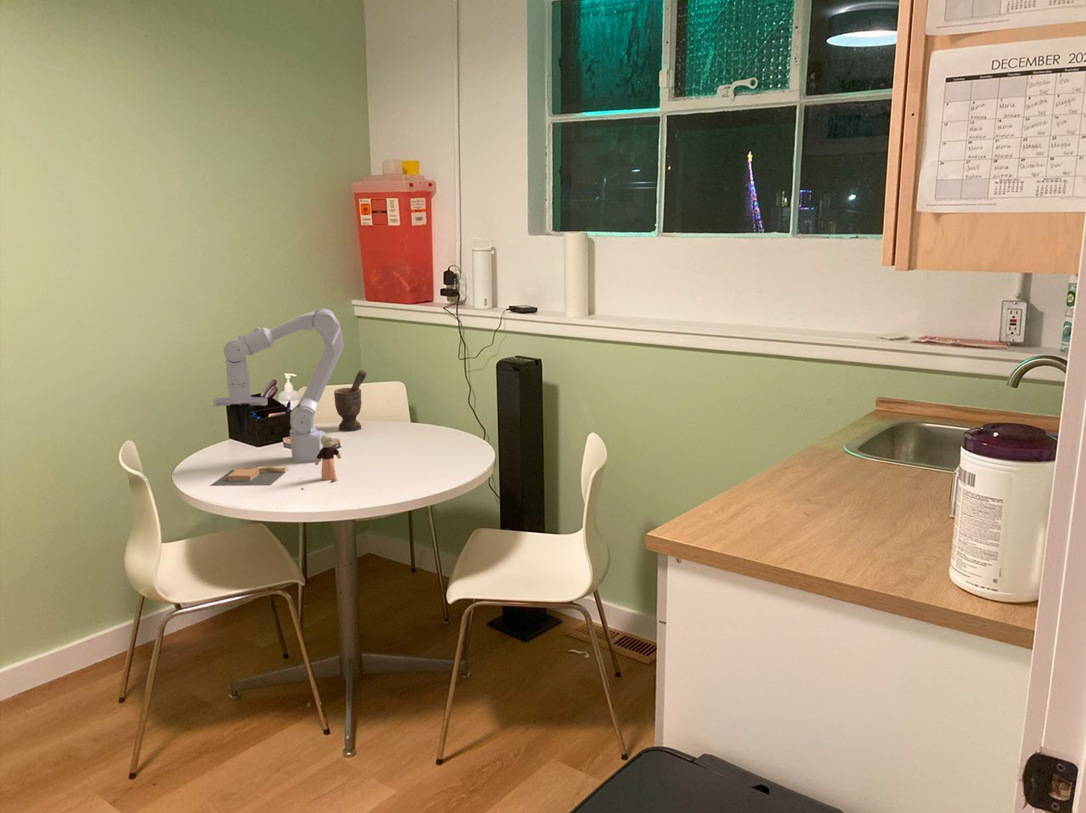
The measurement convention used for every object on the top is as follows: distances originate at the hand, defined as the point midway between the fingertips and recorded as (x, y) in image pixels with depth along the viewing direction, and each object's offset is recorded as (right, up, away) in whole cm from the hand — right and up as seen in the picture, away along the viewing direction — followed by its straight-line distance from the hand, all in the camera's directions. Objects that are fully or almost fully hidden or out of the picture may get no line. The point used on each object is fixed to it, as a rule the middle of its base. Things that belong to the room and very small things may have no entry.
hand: (243, 430), depth 242 cm
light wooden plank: (+6, -11, -6) cm, 14 cm away
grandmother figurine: (+27, -13, -13) cm, 33 cm away
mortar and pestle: (+22, -1, +43) cm, 48 cm away
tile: (+7, -11, -11) cm, 17 cm away
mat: (+6, -13, -11) cm, 18 cm away
